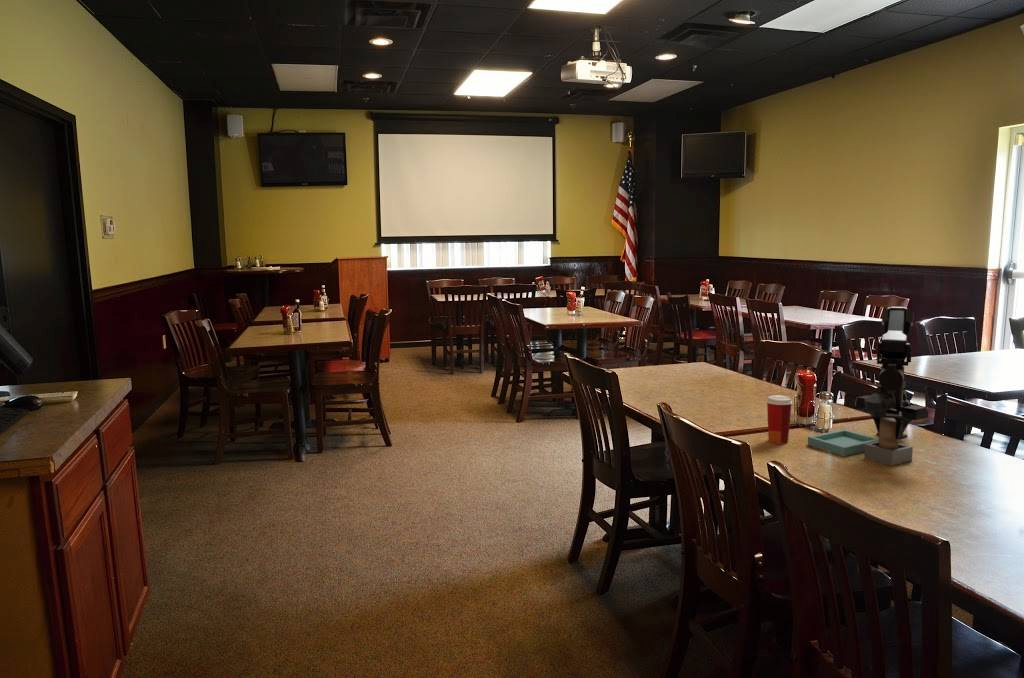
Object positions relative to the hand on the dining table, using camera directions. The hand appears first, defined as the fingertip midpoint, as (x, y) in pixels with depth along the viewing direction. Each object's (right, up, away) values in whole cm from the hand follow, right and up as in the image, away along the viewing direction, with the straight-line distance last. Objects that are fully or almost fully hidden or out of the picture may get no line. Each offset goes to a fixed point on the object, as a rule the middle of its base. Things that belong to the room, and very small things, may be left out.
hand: (889, 436), depth 202 cm
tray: (-6, -5, +14) cm, 16 cm away
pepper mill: (0, -6, +1) cm, 6 cm away
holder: (0, -6, +1) cm, 6 cm away
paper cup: (-24, -4, +20) cm, 32 cm away
